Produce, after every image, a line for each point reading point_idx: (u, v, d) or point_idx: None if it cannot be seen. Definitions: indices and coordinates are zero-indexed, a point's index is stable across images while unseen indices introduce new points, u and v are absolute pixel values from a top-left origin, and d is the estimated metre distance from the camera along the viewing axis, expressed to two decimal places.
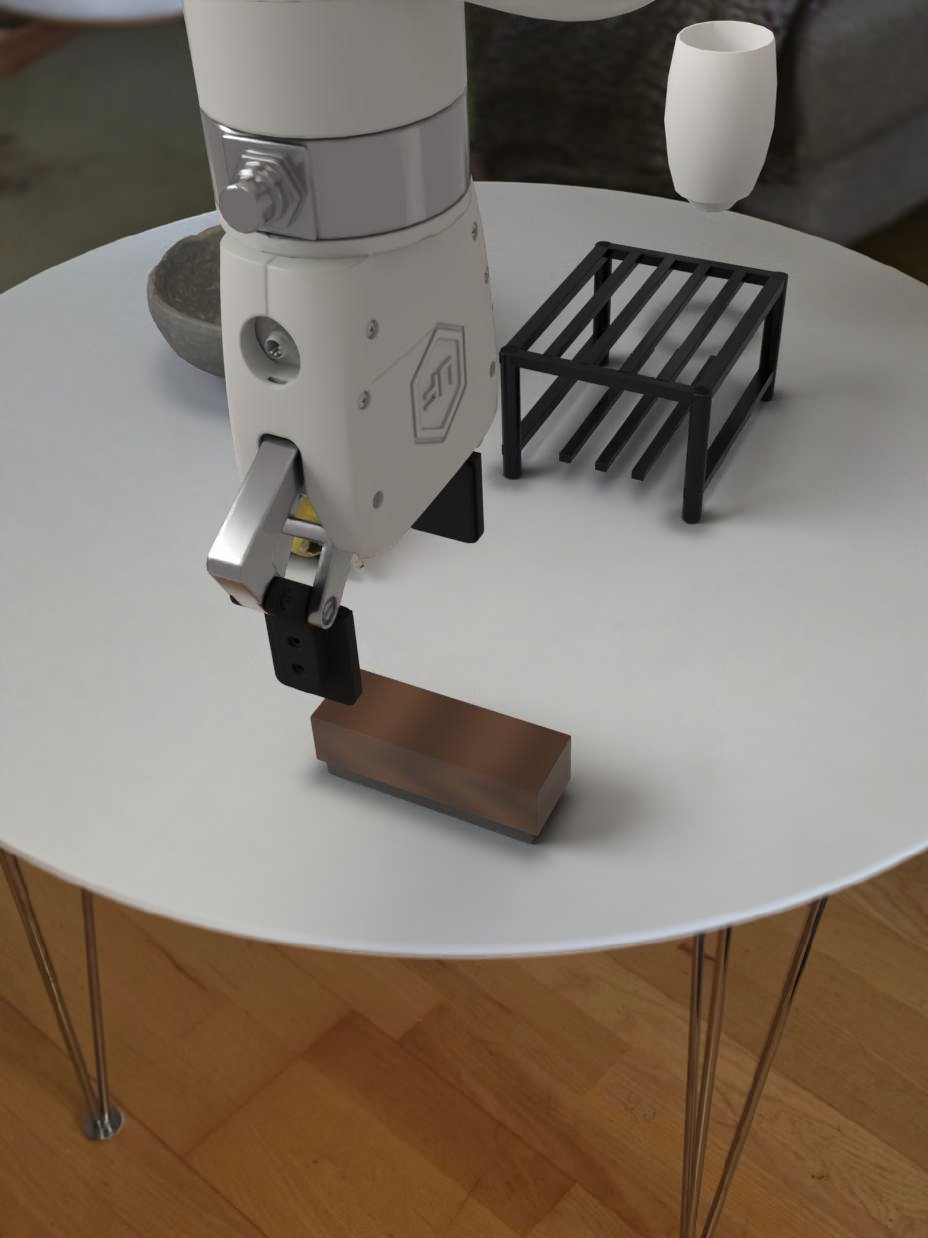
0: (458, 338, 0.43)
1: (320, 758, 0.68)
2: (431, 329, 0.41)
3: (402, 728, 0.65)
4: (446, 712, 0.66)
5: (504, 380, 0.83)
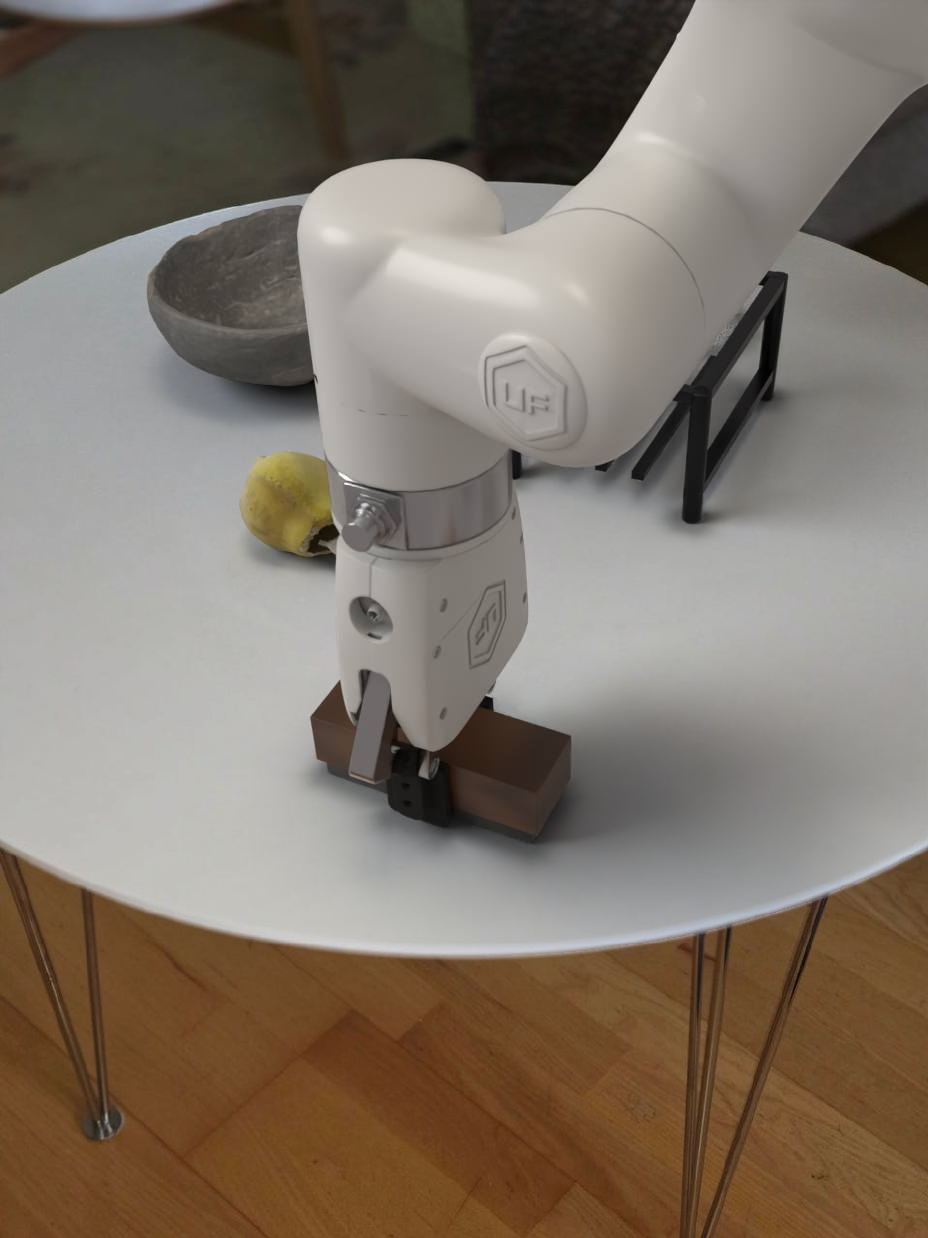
0: (501, 589, 0.60)
1: (320, 758, 0.68)
2: (482, 592, 0.58)
3: None
4: None
5: None
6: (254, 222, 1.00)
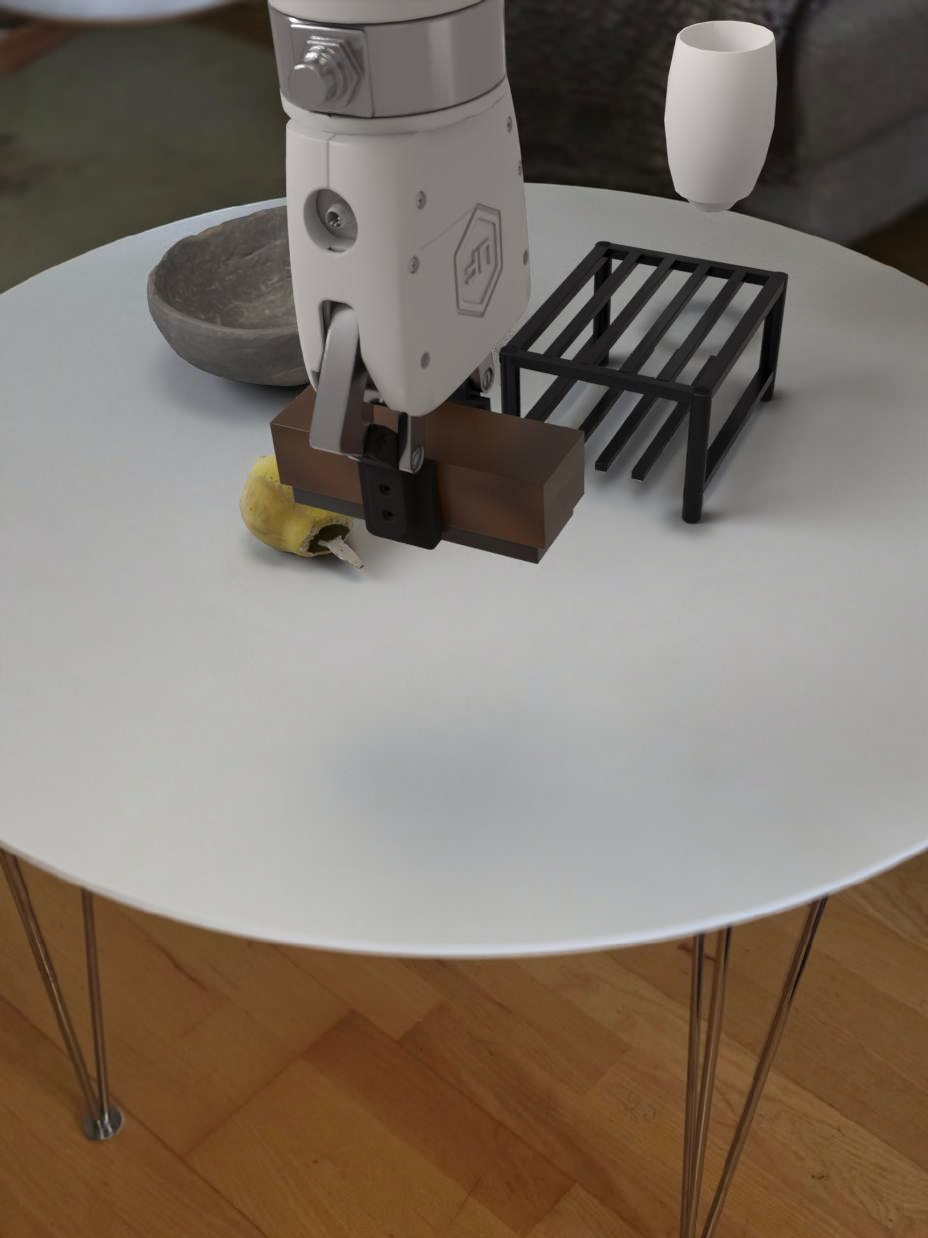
0: (495, 221, 0.48)
1: (284, 481, 0.56)
2: (471, 208, 0.46)
3: None
4: (433, 413, 0.55)
5: (504, 380, 0.83)
6: (254, 222, 1.00)
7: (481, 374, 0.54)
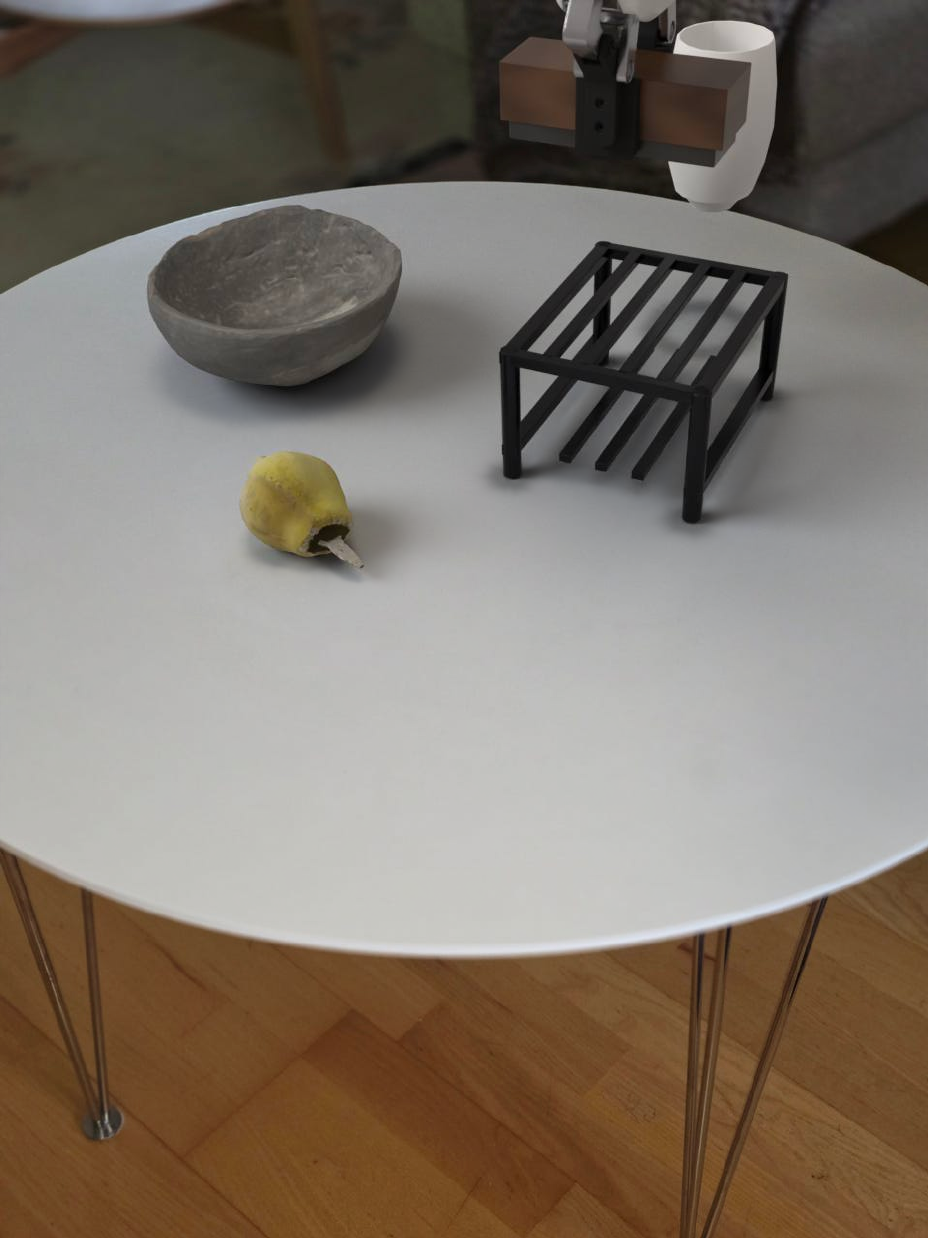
0: None
1: (504, 116, 0.71)
2: None
3: None
4: None
5: (504, 380, 0.83)
6: (254, 222, 1.00)
7: (668, 23, 0.69)
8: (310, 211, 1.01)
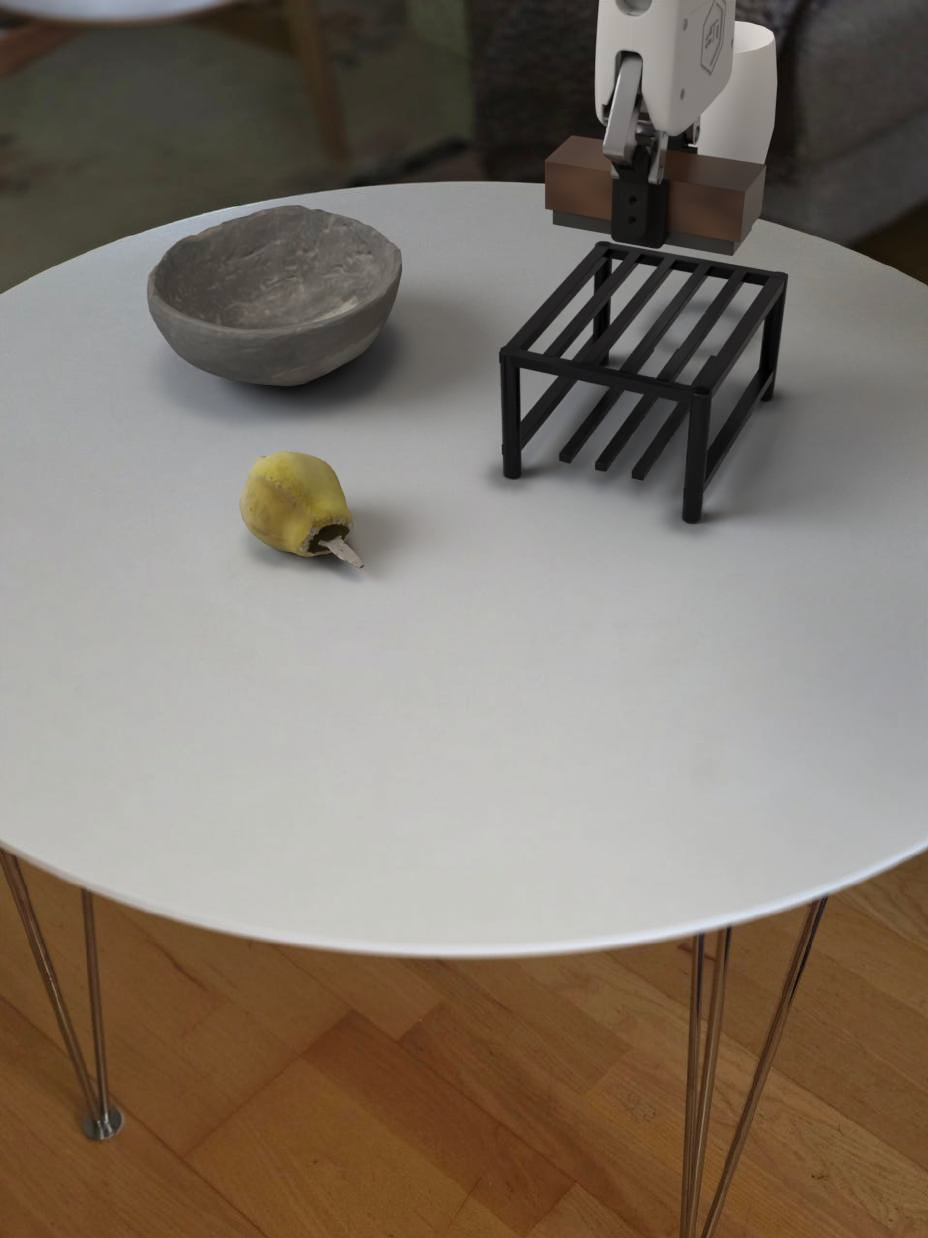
0: (723, 9, 0.73)
1: (548, 206, 0.81)
2: None
3: None
4: None
5: (504, 380, 0.83)
6: (254, 222, 1.00)
7: (694, 128, 0.79)
8: (310, 211, 1.01)
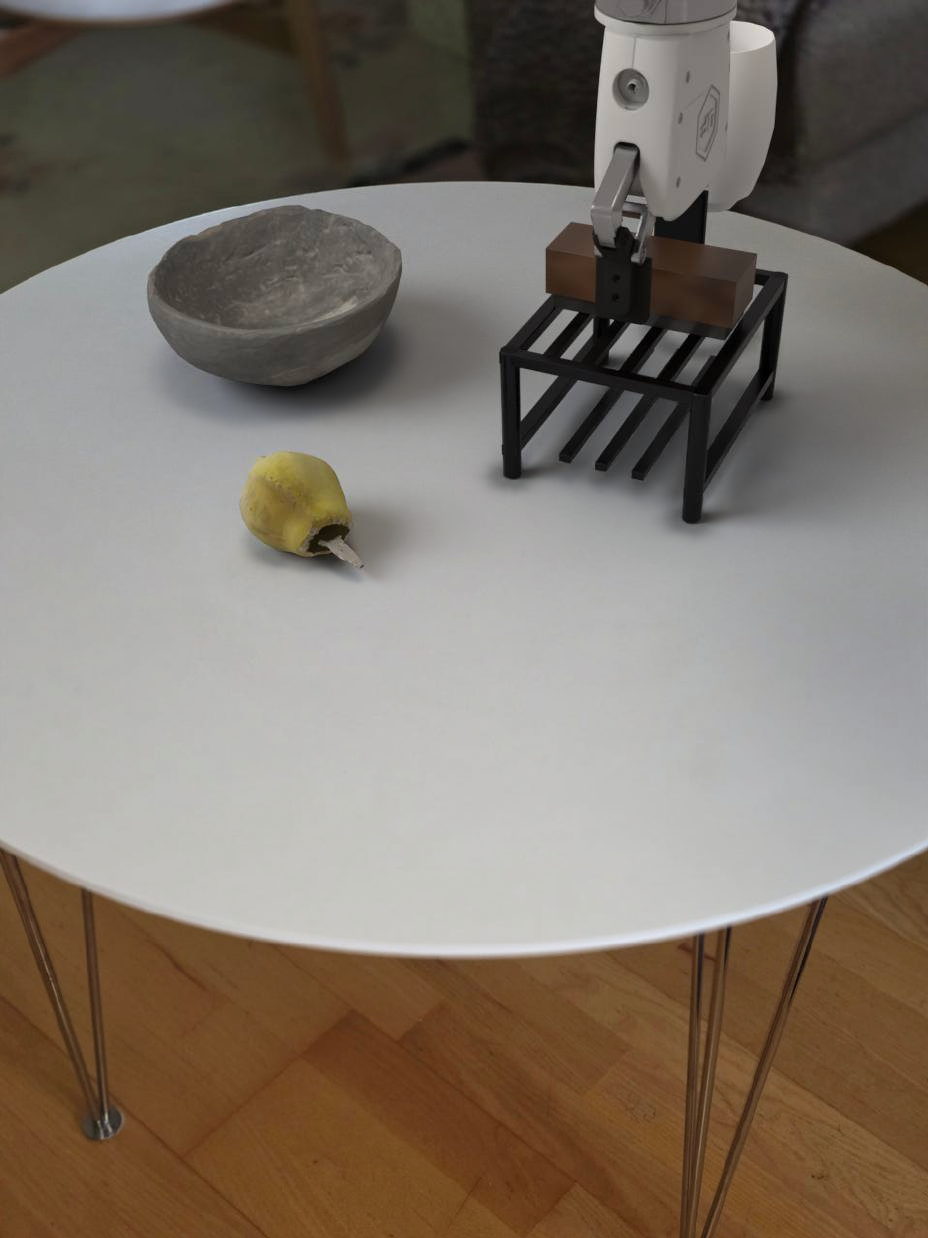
0: (717, 98, 0.76)
1: (549, 290, 0.84)
2: (709, 86, 0.74)
3: None
4: (654, 243, 0.83)
5: (504, 380, 0.83)
6: (254, 222, 1.00)
7: None
8: (310, 211, 1.01)
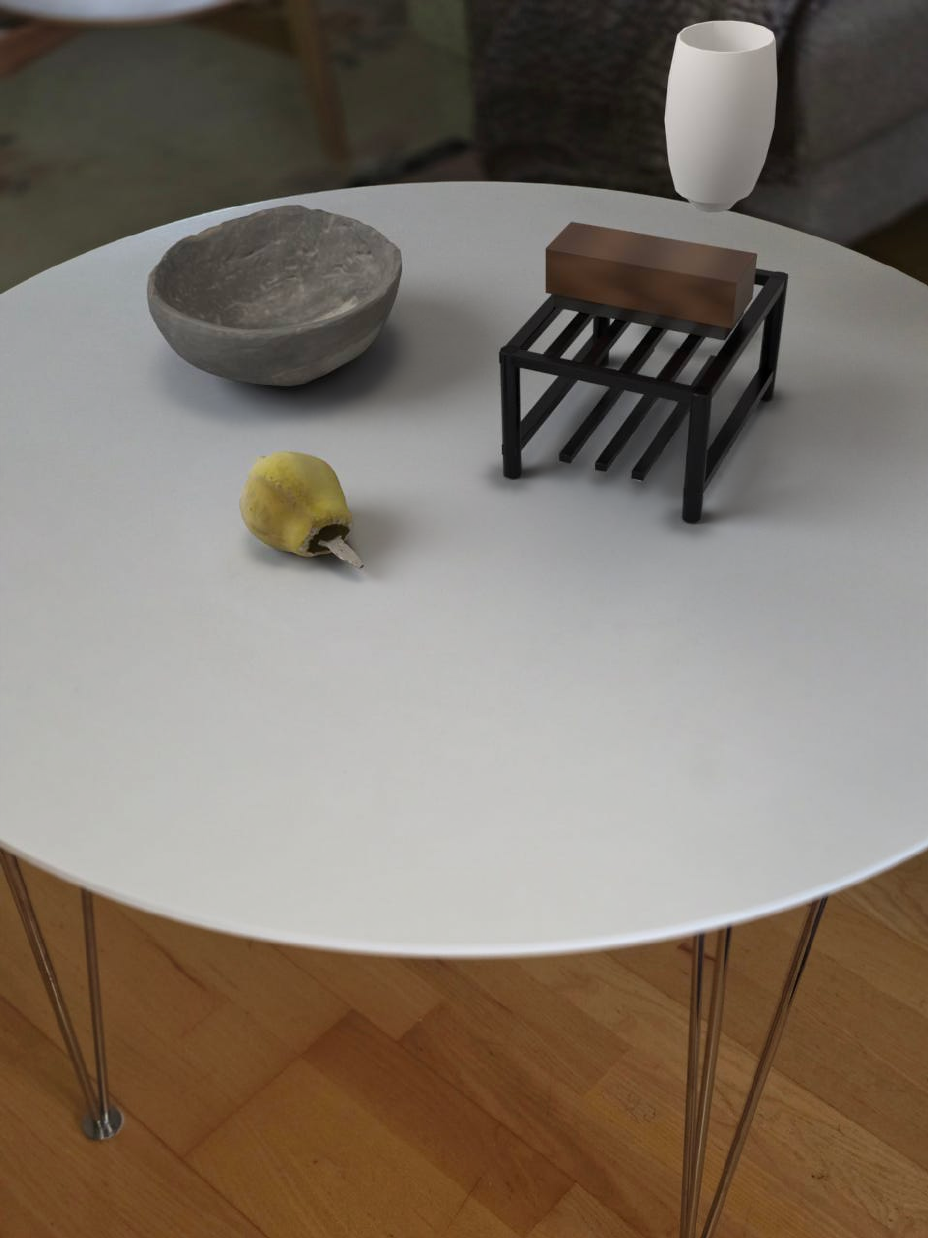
0: None
1: (549, 290, 0.84)
2: None
3: (621, 252, 0.82)
4: (654, 243, 0.83)
5: (504, 380, 0.83)
6: (254, 222, 1.00)
7: None
8: (310, 211, 1.01)
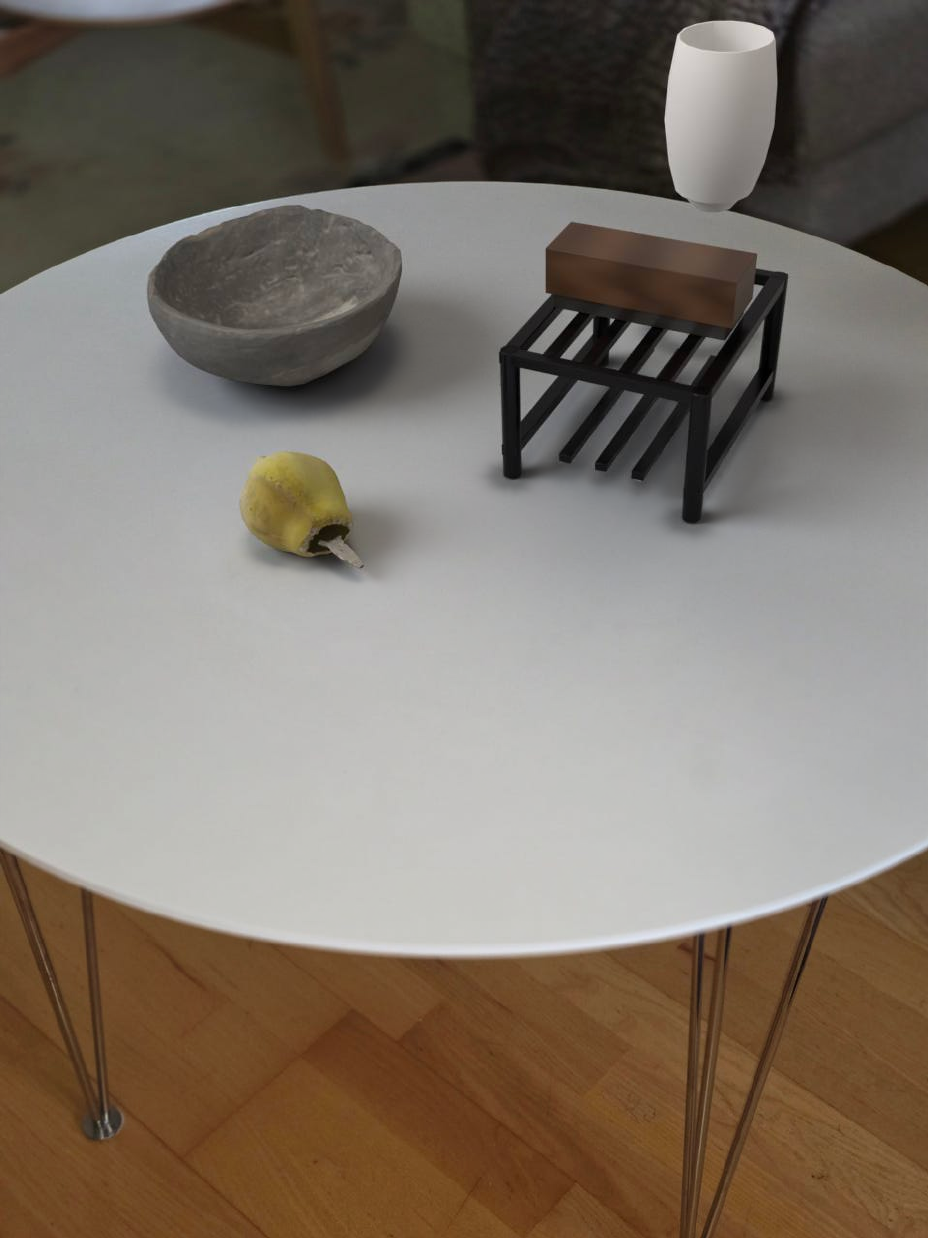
0: None
1: (549, 290, 0.84)
2: None
3: (621, 252, 0.82)
4: (654, 243, 0.83)
5: (504, 380, 0.83)
6: (254, 222, 1.00)
7: None
8: (310, 211, 1.01)
